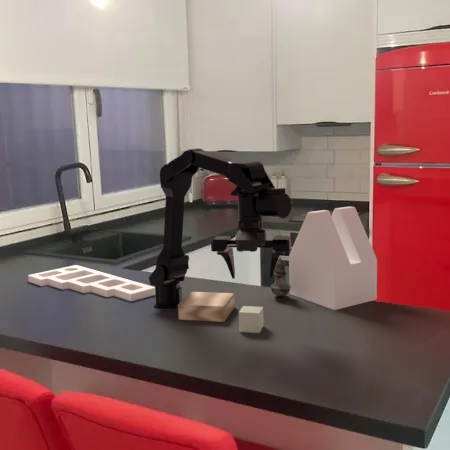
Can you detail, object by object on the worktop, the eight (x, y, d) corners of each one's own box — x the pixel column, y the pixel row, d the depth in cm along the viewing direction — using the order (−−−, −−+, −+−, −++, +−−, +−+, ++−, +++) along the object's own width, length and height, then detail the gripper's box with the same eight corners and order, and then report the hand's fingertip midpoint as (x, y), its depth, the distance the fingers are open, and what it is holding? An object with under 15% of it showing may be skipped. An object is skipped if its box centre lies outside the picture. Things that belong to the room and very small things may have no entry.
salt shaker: (274, 302, 173) (273, 260, 171) (267, 296, 179) (266, 255, 176) (294, 300, 174) (293, 258, 172) (286, 294, 180) (286, 254, 178)
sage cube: (239, 332, 151) (238, 312, 150) (243, 325, 155) (243, 305, 155) (259, 333, 149) (259, 313, 149) (263, 326, 154) (263, 306, 153)
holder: (156, 296, 185) (156, 287, 184) (104, 310, 173) (104, 301, 172) (76, 272, 217) (76, 264, 217) (28, 283, 205) (27, 275, 204)
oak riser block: (178, 319, 161) (178, 304, 161) (192, 305, 173) (191, 291, 172) (223, 321, 158) (223, 306, 158) (234, 307, 170) (234, 293, 169)
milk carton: (376, 299, 173) (377, 210, 168) (334, 310, 165) (334, 216, 161) (330, 285, 189) (329, 203, 185) (289, 294, 181) (288, 208, 177)
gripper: (204, 220, 143) (207, 287, 145) (286, 220, 139) (287, 288, 142) (214, 213, 153) (217, 275, 156) (290, 212, 150) (292, 275, 152)
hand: (252, 278), depth 151 cm, fingers open, 9 cm apart
